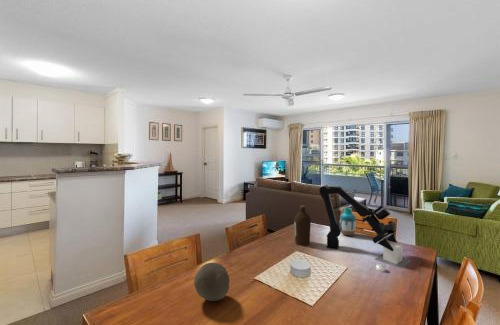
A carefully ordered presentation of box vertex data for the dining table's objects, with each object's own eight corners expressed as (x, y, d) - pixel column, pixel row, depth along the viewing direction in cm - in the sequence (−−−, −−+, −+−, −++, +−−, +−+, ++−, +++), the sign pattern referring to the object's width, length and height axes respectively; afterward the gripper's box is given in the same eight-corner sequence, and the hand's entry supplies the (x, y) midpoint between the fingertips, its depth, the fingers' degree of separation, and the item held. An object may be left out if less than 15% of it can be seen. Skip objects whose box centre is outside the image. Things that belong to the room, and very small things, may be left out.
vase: (352, 232, 184) (353, 207, 183) (357, 237, 174) (358, 210, 173) (338, 232, 185) (338, 206, 184) (342, 237, 175) (342, 210, 174)
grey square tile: (374, 259, 139) (374, 259, 139) (384, 253, 148) (384, 252, 148) (401, 269, 128) (401, 268, 128) (411, 261, 137) (411, 260, 137)
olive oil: (311, 241, 168) (311, 204, 166) (309, 247, 158) (309, 208, 156) (295, 239, 171) (295, 203, 170) (292, 244, 161) (293, 206, 160)
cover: (383, 259, 138) (383, 243, 138) (388, 255, 143) (388, 240, 143) (397, 264, 133) (397, 247, 132) (402, 260, 137) (402, 244, 137)
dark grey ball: (213, 286, 113) (213, 254, 112) (236, 298, 104) (236, 263, 103) (188, 301, 102) (187, 265, 101) (211, 315, 93) (210, 277, 92)
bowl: (376, 271, 126) (376, 266, 126) (376, 268, 129) (376, 263, 129) (385, 273, 124) (385, 268, 124) (384, 269, 127) (385, 265, 127)
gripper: (378, 220, 134) (400, 246, 126) (392, 214, 146) (413, 237, 138) (364, 230, 140) (384, 256, 132) (378, 224, 152) (397, 247, 144)
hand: (395, 248), depth 137 cm, fingers closed on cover, 7 cm apart
